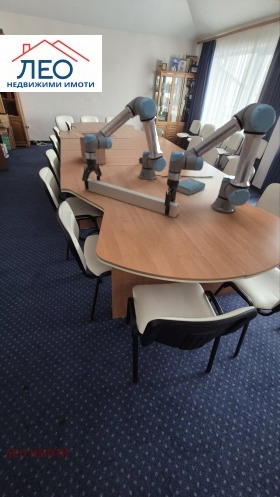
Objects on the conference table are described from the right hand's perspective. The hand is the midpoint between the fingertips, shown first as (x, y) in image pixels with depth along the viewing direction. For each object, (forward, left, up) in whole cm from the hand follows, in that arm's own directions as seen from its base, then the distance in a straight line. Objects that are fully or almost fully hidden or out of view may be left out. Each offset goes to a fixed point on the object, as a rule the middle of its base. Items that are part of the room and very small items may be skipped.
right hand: (168, 212), depth 149 cm
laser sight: (-26, -111, -1) cm, 114 cm away
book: (-36, -38, -1) cm, 52 cm away
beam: (+22, -24, -1) cm, 32 cm away
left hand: (+43, -48, +2) cm, 65 cm away
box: (+32, -128, -1) cm, 132 cm away
